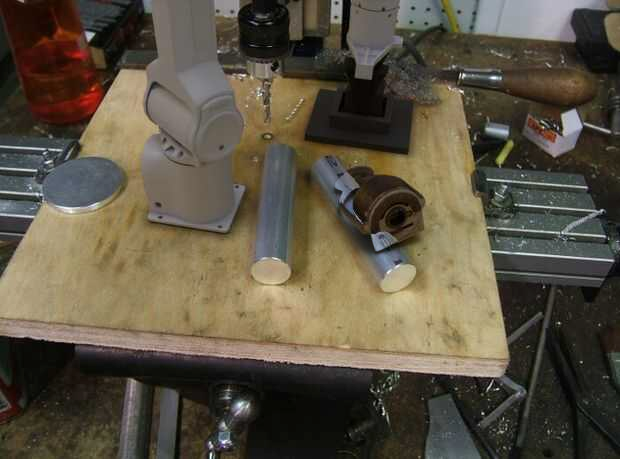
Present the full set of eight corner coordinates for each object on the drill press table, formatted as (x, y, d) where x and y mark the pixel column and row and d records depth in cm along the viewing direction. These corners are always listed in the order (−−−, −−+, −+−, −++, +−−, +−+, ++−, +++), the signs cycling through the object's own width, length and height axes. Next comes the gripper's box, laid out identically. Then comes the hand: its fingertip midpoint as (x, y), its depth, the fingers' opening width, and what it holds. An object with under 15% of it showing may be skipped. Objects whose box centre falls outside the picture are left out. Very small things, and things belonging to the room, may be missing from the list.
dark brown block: (343, 115, 77) (345, 89, 74) (347, 100, 79) (349, 74, 77) (379, 120, 76) (383, 94, 73) (382, 104, 79) (386, 79, 76)
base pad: (304, 140, 76) (305, 121, 74) (319, 94, 84) (320, 76, 82) (407, 154, 74) (411, 136, 72) (412, 106, 83) (415, 88, 81)
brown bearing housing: (332, 222, 57) (431, 208, 56) (326, 138, 65) (412, 124, 64) (341, 262, 62) (432, 251, 61) (335, 180, 71) (414, 168, 69)
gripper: (405, 32, 62) (388, 134, 71) (412, -18, 72) (396, 77, 81) (341, 24, 62) (333, 126, 72) (357, -24, 72) (348, 71, 82)
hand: (363, 100), depth 77 cm, fingers closed on dark brown block, 4 cm apart
